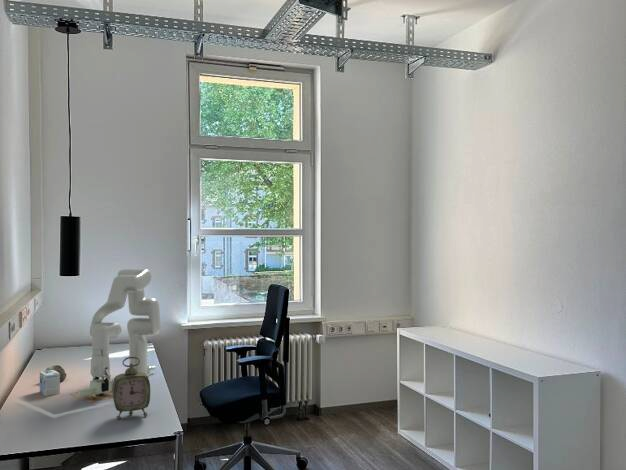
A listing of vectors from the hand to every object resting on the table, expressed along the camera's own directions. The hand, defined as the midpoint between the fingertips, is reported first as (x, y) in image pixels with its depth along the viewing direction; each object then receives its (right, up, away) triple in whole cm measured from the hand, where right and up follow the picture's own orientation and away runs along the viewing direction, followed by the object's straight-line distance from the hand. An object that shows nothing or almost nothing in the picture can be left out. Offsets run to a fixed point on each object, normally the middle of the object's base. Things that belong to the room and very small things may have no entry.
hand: (100, 389), depth 265 cm
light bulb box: (-27, -4, +6) cm, 28 cm away
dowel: (-1, -3, -7) cm, 7 cm away
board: (-1, -4, +3) cm, 5 cm away
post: (0, -3, 0) cm, 3 cm away
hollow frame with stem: (-2, -1, -3) cm, 4 cm away
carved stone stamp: (-36, -5, +31) cm, 48 cm away
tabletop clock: (+23, -4, -28) cm, 37 cm away
